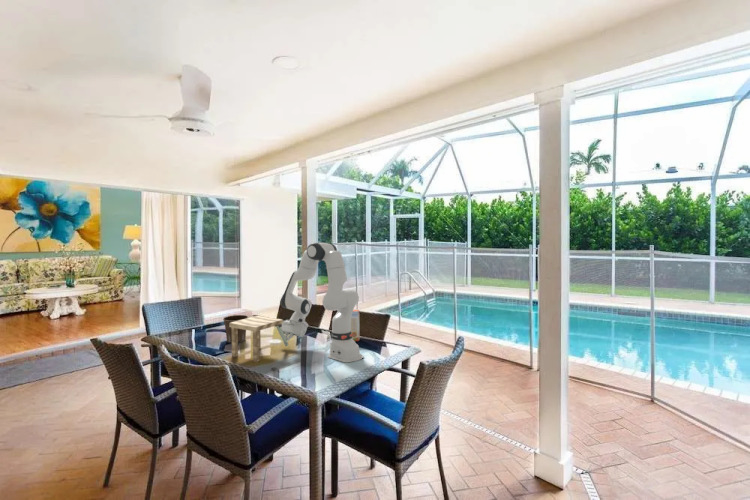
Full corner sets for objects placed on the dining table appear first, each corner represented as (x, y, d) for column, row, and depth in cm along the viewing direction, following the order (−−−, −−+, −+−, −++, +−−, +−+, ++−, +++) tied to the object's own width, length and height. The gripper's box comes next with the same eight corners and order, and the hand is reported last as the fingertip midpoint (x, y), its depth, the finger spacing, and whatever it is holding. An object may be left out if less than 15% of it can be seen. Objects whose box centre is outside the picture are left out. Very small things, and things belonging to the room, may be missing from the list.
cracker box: (359, 339, 263) (359, 309, 262) (358, 341, 257) (358, 311, 256) (340, 338, 264) (339, 309, 263) (338, 341, 258) (338, 310, 257)
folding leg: (286, 344, 242) (277, 323, 234) (289, 344, 241) (280, 323, 233) (284, 346, 240) (274, 325, 232) (287, 347, 239) (277, 326, 231)
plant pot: (240, 344, 250) (239, 320, 250) (218, 343, 254) (218, 319, 253) (252, 338, 266) (252, 315, 266) (232, 336, 269) (231, 314, 269)
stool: (258, 346, 245) (257, 315, 244) (283, 352, 234) (282, 319, 233) (230, 356, 226) (229, 322, 225) (256, 362, 215) (255, 327, 214)
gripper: (282, 316, 251) (271, 335, 243) (305, 320, 240) (295, 339, 233) (287, 321, 255) (277, 339, 247) (310, 325, 244) (300, 344, 237)
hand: (286, 339), depth 240 cm, fingers closed, pressing on folding leg
